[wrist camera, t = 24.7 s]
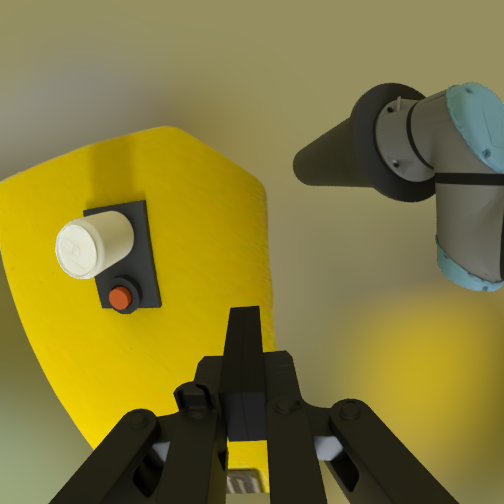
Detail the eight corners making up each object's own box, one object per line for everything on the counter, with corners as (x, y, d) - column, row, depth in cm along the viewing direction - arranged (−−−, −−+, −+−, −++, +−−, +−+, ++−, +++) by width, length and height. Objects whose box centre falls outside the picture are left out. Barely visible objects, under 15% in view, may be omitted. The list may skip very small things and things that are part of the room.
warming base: (86, 210, 41) (77, 211, 39) (145, 200, 41) (138, 201, 38) (105, 307, 46) (98, 313, 43) (162, 306, 46) (157, 313, 43)
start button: (111, 286, 42) (106, 289, 40) (129, 285, 42) (125, 289, 40) (116, 305, 43) (111, 309, 41) (133, 305, 43) (129, 309, 41)
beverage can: (127, 266, 43) (92, 292, 31) (89, 246, 42) (48, 265, 30) (142, 222, 41) (106, 236, 29) (102, 203, 40) (59, 210, 28)
